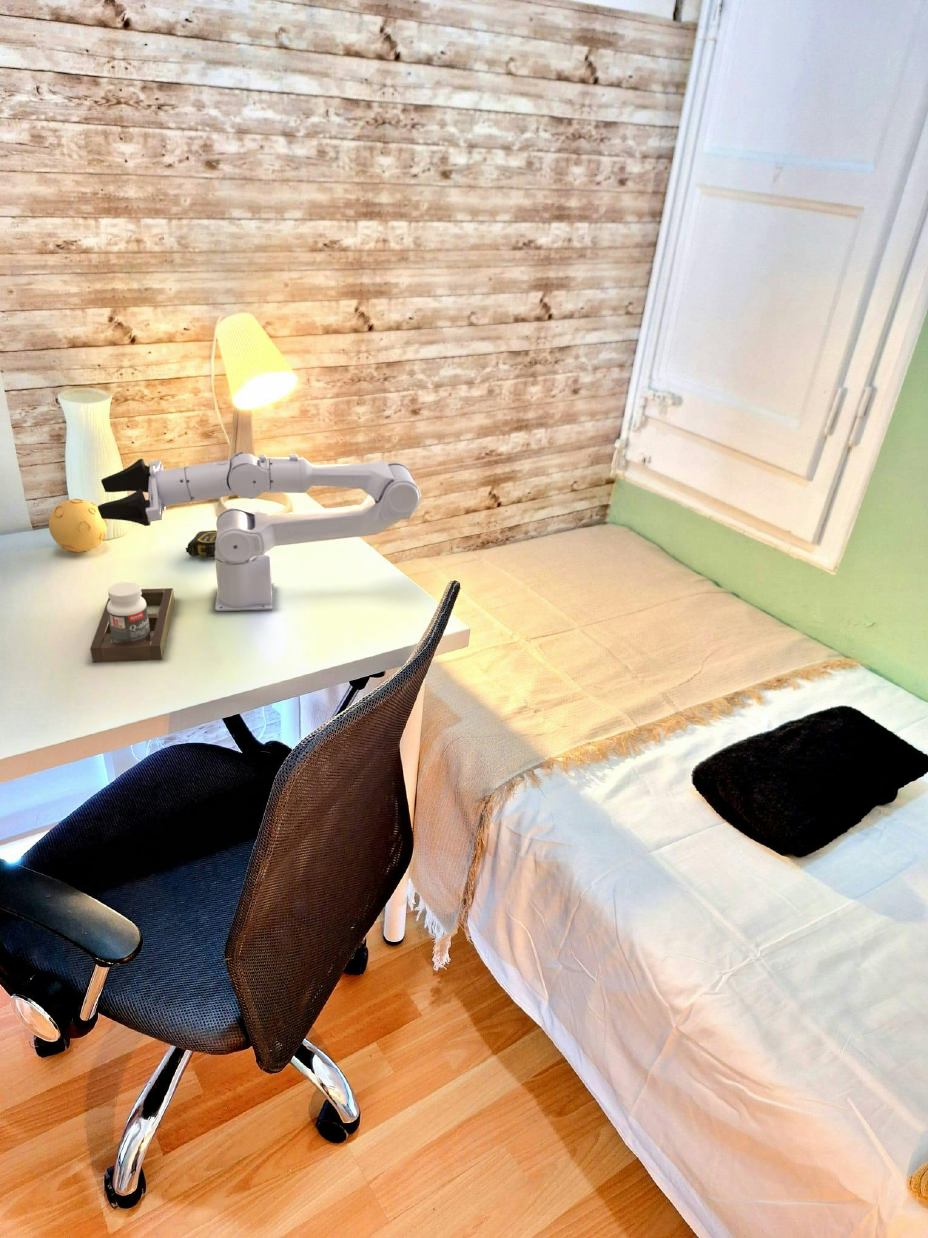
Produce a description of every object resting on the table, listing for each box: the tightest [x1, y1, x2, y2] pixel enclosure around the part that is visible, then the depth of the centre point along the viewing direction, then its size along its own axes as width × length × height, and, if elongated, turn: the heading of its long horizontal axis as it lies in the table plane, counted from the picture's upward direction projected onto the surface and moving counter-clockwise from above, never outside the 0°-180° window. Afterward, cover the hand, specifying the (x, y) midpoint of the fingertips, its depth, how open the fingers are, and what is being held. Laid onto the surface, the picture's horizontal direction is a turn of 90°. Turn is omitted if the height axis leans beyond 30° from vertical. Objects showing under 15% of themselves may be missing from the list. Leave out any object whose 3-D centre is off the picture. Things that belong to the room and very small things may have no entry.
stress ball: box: [48, 498, 108, 554], centre depth 155 cm, size 10×10×10 cm
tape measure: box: [185, 529, 217, 558], centre depth 159 cm, size 7×7×4 cm
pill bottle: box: [107, 581, 152, 643], centre depth 128 cm, size 6×6×10 cm
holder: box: [89, 587, 176, 663], centre depth 133 cm, size 10×19×3 cm, turn 11°
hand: (101, 498), depth 130 cm, fingers open, 7 cm apart
